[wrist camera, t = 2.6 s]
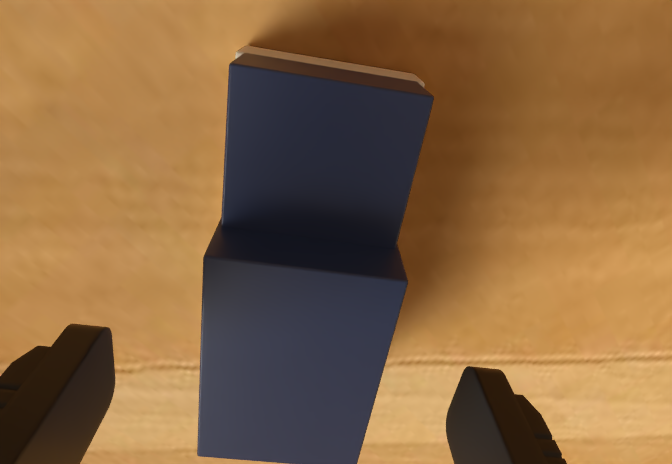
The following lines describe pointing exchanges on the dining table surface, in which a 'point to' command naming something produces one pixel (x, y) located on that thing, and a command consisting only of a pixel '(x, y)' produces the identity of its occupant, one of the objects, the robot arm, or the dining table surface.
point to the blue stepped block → (305, 255)
